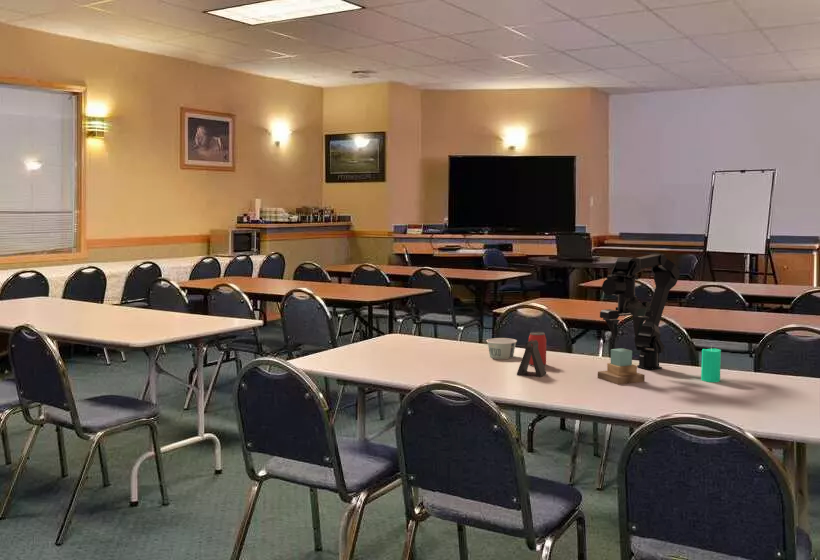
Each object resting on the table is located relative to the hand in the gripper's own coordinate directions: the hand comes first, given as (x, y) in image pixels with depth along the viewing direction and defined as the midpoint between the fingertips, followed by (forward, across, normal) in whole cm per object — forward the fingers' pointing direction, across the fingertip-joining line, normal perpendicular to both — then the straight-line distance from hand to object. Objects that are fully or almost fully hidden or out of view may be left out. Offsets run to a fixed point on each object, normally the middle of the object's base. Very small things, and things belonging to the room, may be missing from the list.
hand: (625, 337), depth 277 cm
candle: (+13, +19, -21) cm, 31 cm away
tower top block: (+10, -8, -8) cm, 15 cm away
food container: (+13, -24, +46) cm, 54 cm away
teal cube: (+8, -8, -8) cm, 14 cm away
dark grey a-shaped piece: (+13, -31, +12) cm, 36 cm away
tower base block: (+14, -8, -8) cm, 18 cm away
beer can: (+13, -20, +26) cm, 35 cm away
